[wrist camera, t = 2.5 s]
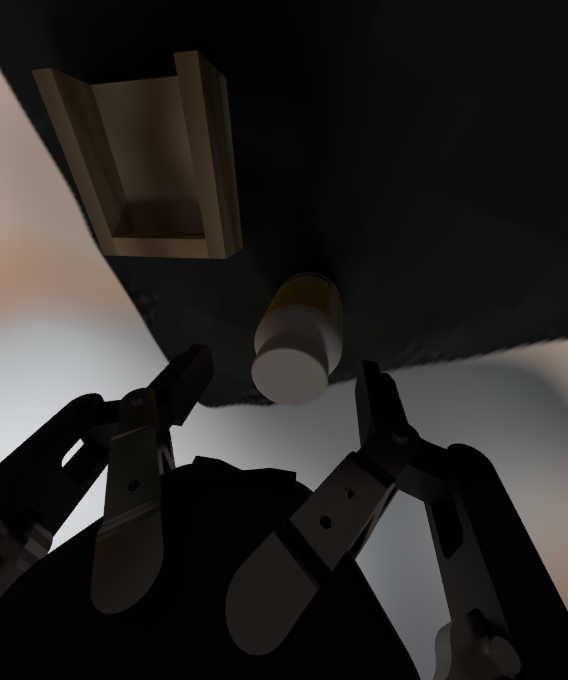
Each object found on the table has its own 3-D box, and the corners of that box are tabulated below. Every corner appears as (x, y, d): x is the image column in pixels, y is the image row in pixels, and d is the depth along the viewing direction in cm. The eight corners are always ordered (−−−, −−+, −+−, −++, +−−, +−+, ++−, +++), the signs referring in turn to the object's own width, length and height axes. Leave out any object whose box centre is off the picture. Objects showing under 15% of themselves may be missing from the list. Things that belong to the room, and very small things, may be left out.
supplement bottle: (264, 293, 21) (217, 361, 13) (318, 256, 18) (302, 312, 10) (300, 340, 23) (279, 426, 15) (353, 312, 20) (364, 396, 12)
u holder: (225, 78, 14) (196, 50, 11) (243, 248, 19) (225, 258, 16) (88, 92, 16) (31, 70, 13) (137, 245, 21) (104, 255, 18)
